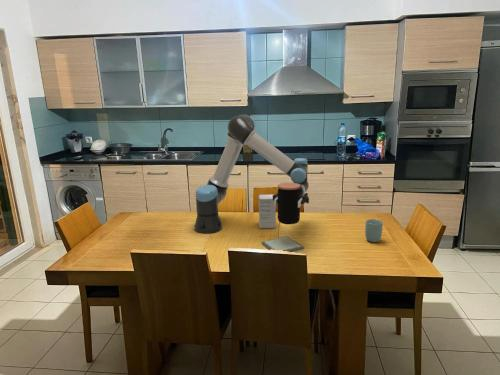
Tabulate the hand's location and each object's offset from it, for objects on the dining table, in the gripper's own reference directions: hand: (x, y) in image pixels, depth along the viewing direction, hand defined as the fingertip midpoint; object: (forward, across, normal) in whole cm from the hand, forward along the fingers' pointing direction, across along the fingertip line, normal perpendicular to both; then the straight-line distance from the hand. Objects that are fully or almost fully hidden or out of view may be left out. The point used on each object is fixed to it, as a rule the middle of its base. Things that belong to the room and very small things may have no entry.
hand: (286, 203), depth 172 cm
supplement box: (-26, +17, -22) cm, 38 cm away
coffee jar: (-4, 0, -10) cm, 11 cm away
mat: (0, +2, -22) cm, 22 cm away
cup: (-19, -39, -22) cm, 49 cm away
